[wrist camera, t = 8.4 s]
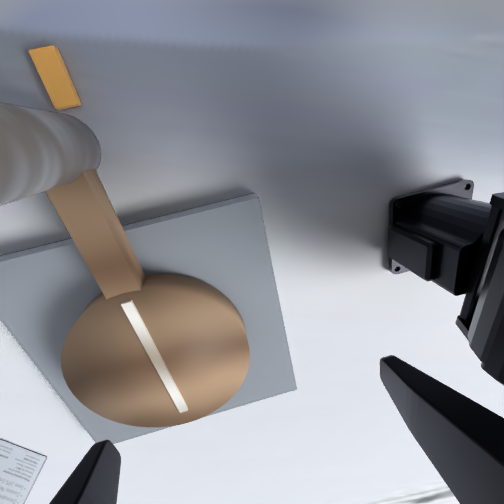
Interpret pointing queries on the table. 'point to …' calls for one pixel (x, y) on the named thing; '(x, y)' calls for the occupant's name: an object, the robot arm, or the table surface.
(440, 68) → the table surface
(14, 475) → the light bulb box
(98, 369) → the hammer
